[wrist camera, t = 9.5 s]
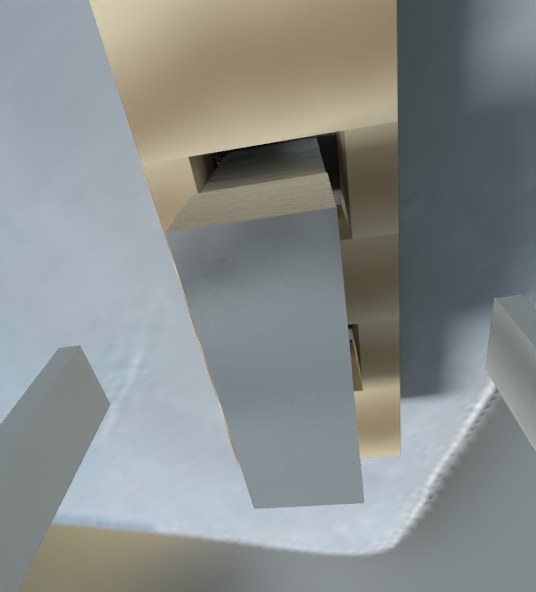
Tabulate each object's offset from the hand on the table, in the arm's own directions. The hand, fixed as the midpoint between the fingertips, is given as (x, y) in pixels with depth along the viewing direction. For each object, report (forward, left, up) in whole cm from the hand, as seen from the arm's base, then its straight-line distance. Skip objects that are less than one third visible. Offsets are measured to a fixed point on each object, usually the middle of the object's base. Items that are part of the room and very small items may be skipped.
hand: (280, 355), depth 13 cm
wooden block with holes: (0, 0, -8) cm, 8 cm away
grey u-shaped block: (0, 0, -8) cm, 8 cm away
